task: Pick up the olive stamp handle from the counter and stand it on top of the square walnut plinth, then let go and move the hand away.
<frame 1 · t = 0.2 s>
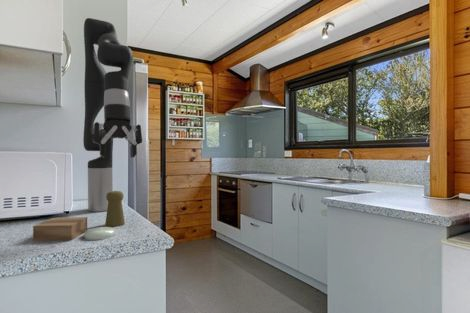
hand: (118, 157, 92), 22 cm above the worktop, tool pointing down, fingers open, 8 cm apart
walnut plinth: (61, 235, 86), on the worktop
white domed disc: (99, 236, 86), on the worktop
olive stamp handle: (115, 225, 98), on the worktop
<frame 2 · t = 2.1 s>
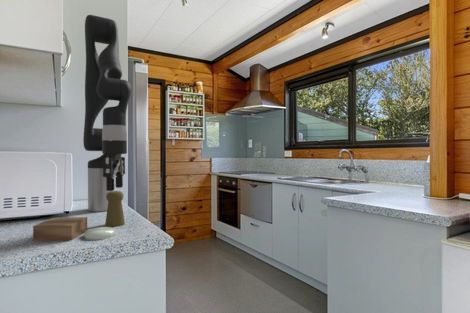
hand: (114, 189, 98), 12 cm above the worktop, tool pointing down, fingers open, 8 cm apart
nothing on the worktop moved.
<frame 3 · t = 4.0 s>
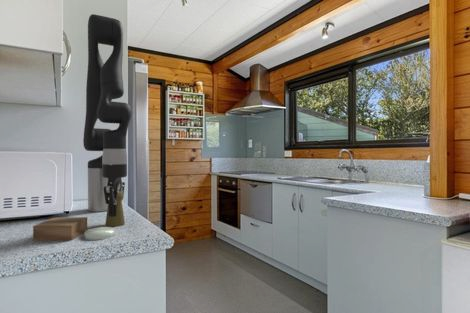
hand: (115, 214, 98), 3 cm above the worktop, tool pointing down, fingers closed on olive stamp handle, 4 cm apart
olive stamp handle: (115, 224, 99), on the worktop, touching gripper
everything else where it was.
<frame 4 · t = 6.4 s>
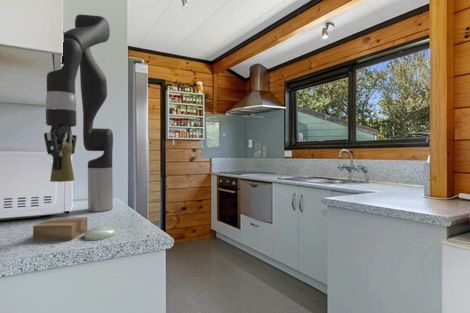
hand: (61, 169, 85), 19 cm above the worktop, tool pointing down, fingers closed on olive stamp handle, 4 cm apart
olive stamp handle: (62, 181, 86), point 16 cm above the worktop, touching gripper
everything else where it was.
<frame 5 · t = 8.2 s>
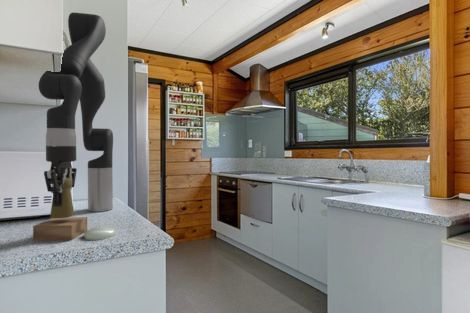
hand: (61, 204, 86), 9 cm above the worktop, tool pointing down, fingers closed on olive stamp handle, 4 cm apart
olive stamp handle: (62, 216, 86), point 5 cm above the worktop, touching gripper
everything else where it was.
when the fingers open (9 cm above the worktop, at t = 9.0 s): olive stamp handle drops 1 cm, resting on walnut plinth.
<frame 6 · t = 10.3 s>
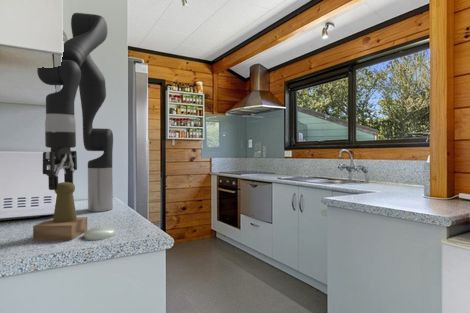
hand: (61, 187, 86), 14 cm above the worktop, tool pointing down, fingers open, 8 cm apart
olive stamp handle: (65, 220, 87), point 4 cm above the worktop, touching walnut plinth
everything else where it was.
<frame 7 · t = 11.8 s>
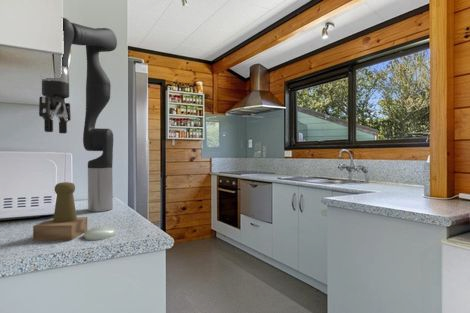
hand: (56, 132, 96), 30 cm above the worktop, tool pointing down, fingers open, 8 cm apart
nothing on the worktop moved.
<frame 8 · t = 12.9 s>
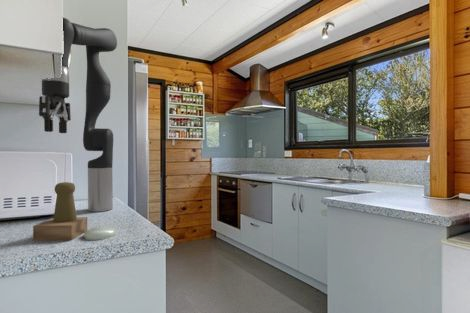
hand: (56, 132, 96), 30 cm above the worktop, tool pointing down, fingers open, 8 cm apart
nothing on the worktop moved.
at the end: olive stamp handle inside the target area on the walnut plinth (1.7 cm from its centre), point 3.8 cm above the walnut plinth's base; olive stamp handle tilted 0°; the gripper is holding nothing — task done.
